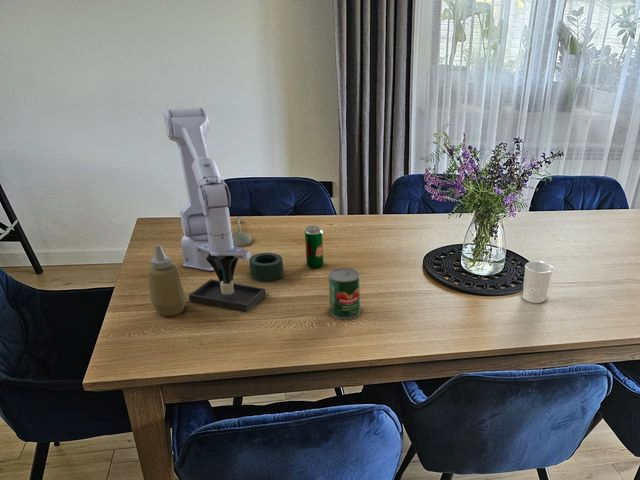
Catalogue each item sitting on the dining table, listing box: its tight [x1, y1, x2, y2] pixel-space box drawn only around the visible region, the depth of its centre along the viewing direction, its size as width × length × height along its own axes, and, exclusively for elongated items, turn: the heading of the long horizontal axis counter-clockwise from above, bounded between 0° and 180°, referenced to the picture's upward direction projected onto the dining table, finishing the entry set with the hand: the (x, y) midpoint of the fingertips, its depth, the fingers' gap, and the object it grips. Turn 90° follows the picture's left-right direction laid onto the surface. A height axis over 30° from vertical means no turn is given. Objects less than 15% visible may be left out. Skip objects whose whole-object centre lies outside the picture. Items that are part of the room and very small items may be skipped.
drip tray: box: [188, 278, 267, 313], centre depth 163 cm, size 16×10×2 cm, turn 78°
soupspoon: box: [232, 216, 252, 248], centre depth 200 cm, size 22×3×7 cm
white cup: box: [522, 260, 554, 304], centre depth 176 cm, size 8×8×10 cm
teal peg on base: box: [220, 267, 234, 295], centre depth 160 cm, size 3×3×7 cm
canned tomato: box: [328, 267, 361, 320], centre depth 159 cm, size 8×8×11 cm
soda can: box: [304, 225, 325, 269], centre depth 182 cm, size 5×5×12 cm
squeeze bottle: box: [147, 243, 187, 317], centre depth 150 cm, size 8×8×18 cm
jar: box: [248, 252, 284, 283], centre depth 176 cm, size 9×9×5 cm
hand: (226, 280), depth 160 cm, fingers closed on teal peg on base
